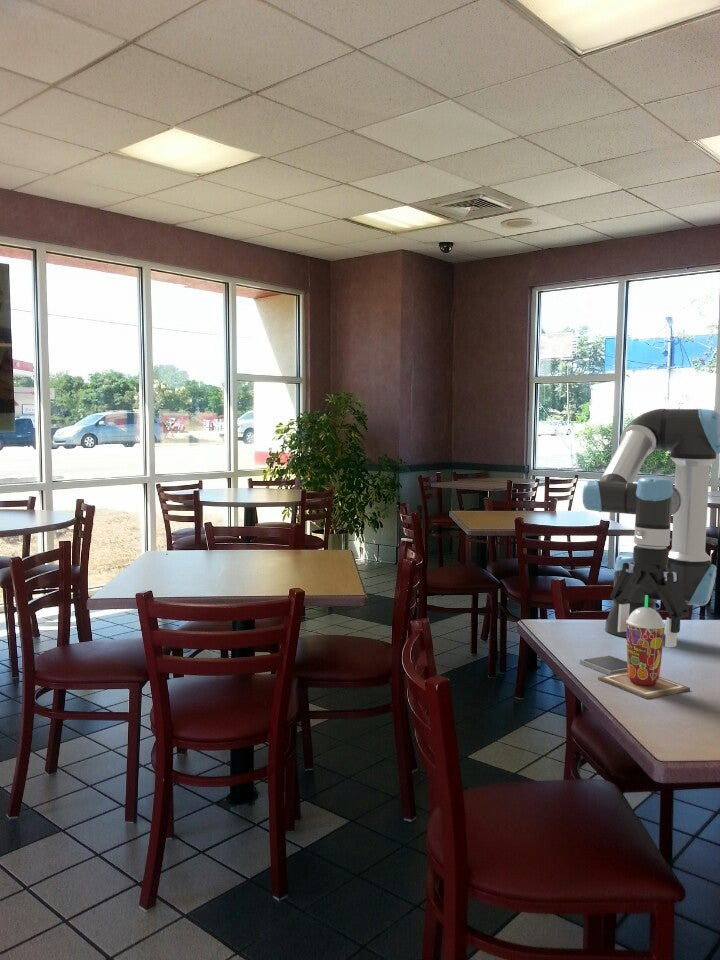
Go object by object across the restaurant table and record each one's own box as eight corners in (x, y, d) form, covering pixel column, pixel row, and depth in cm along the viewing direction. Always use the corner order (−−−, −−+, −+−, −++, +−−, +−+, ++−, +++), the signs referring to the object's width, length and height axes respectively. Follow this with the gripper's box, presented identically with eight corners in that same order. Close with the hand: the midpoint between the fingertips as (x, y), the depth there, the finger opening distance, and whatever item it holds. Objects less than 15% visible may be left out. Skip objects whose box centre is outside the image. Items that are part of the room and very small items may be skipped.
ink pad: (609, 659, 196) (609, 654, 195) (640, 670, 187) (640, 665, 187) (579, 663, 191) (580, 659, 191) (610, 675, 182) (610, 670, 182)
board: (640, 672, 185) (640, 669, 185) (690, 690, 173) (690, 687, 173) (598, 679, 179) (598, 676, 179) (646, 698, 166) (646, 695, 166)
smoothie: (615, 678, 178) (619, 592, 177) (643, 674, 181) (647, 590, 180) (642, 689, 170) (646, 600, 169) (670, 685, 174) (674, 597, 173)
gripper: (598, 539, 183) (593, 626, 184) (686, 555, 161) (680, 655, 162) (620, 537, 187) (615, 624, 188) (710, 554, 165) (704, 651, 166)
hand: (645, 638), depth 175 cm, fingers open, 13 cm apart
